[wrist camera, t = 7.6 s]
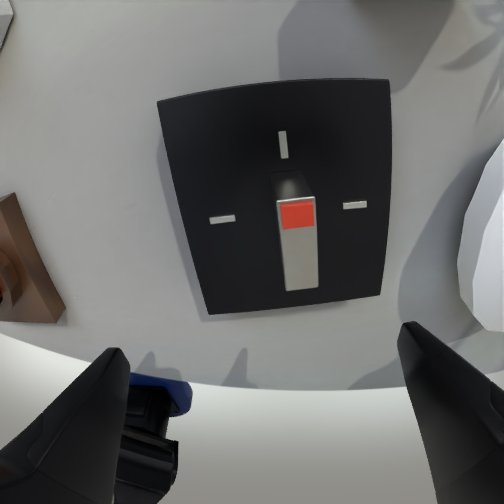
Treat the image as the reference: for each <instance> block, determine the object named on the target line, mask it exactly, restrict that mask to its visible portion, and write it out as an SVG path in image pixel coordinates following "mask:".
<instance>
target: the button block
mask: <svg viewBox="0 0 504 504" xmlns="http://www.w3.org/2000/svg"><path fill="white" fill-rule="evenodd" d="M0 288H1V291H2V297H1V299H0V321H8V322H36V323H57V321H58V319H59V318H60V316H61V315H62V313H63V311H64V310H65V308H66V307H65V305H64V304H63V302H62V300H61V298H60V296H59V294H58V293H57V291H56V289H55V287H54V285H53V283H52V281H51V279H50V277H49V275H48V273H47V271H46V269H45V267H44V265H43V263H42V260H41V258H40V256H39V254H38V252H37V249H36V247H35V245H34V243H33V240H32V238H31V236H30V233H29V231H28V228H27V226H26V223H25V221H24V218H23V215H22V213H21V210H20V207H19V205H18V202H17V199H16V196H15V193H11V194H9V195H6V196H4V197H1V198H0Z"/></svg>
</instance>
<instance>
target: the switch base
mask: <svg viewBox="0 0 504 504" xmlns="http://www.w3.org/2000/svg"><path fill="white" fill-rule="evenodd" d="M157 107H158V112H159V117H160V122H161V127H162V132H163V137H164V142H165V147H166V151H167V156H168V161H169V165H170V170H171V174H172V178H173V183H174V187H175V191H176V195H177V200H178V204H179V208H180V212H181V216H182V220H183V224H184V228H185V232H186V236H187V240H188V243H189V247H190V251H191V255H192V258H193V262H194V266H195V269H196V273H197V276H198V280H199V283H200V287H201V290H202V294H203V297H204V301H205V304H206V308H207V311H208V314H209V315H215V314H228V313H239V312H250V311H260V310H270V309H280V308H289V307H297V306H306V305H314V304H322V303H329V302H337V301H344V300H351V299H358V298H365V297H371V296H377V295H380V292H381V285H382V279H383V271H384V264H385V255H386V246H387V236H388V225H389V213H390V197H391V173H392V121H391V97H390V82H389V80H388V79H366V78H324V79H301V80H286V81H274V82H264V83H255V84H247V85H240V86H233V87H226V88H220V89H214V90H208V91H203V92H197V93H192V94H187V95H183V96H178V97H173V98H169V99H165V100H161V101H158V102H157ZM293 170H301V172H302V174H303V175H304V177H305V179H306V181H307V183H308V185H309V187H310V189H311V190H312V192H313V194H314V196H315V201H316V220H317V244H318V283H319V285H318V287H315V288H308V289H300V290H291V291H286V290H285V284H284V277H283V270H282V263H281V256H280V250H279V241H278V232H277V223H276V215H275V206H274V198H273V190H272V182H271V173H276V172H284V171H293Z"/></svg>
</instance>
